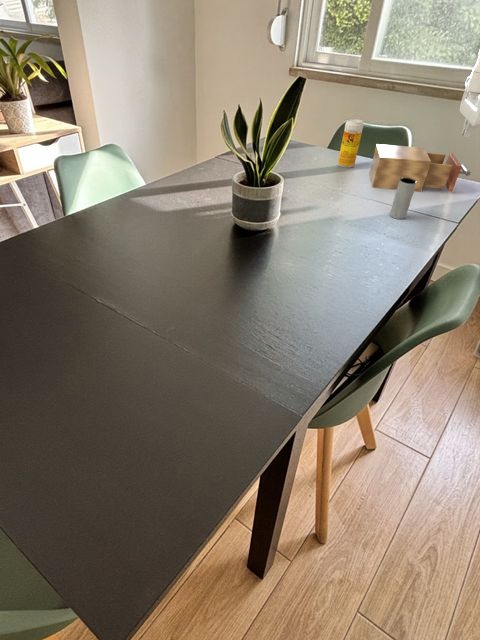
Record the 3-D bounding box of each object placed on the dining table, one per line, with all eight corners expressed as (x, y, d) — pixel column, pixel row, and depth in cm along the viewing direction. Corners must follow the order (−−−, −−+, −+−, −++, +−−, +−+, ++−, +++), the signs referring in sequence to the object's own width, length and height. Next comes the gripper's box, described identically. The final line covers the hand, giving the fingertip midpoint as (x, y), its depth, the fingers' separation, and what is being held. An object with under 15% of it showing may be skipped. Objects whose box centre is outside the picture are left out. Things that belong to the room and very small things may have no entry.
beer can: (337, 167, 156) (346, 122, 146) (337, 162, 161) (346, 118, 151) (354, 169, 155) (364, 123, 145) (354, 163, 160) (364, 119, 150)
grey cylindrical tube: (391, 211, 127) (401, 176, 121) (407, 215, 126) (418, 179, 119) (387, 217, 124) (398, 181, 118) (403, 220, 123) (415, 184, 116)
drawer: (457, 178, 147) (466, 154, 142) (466, 192, 138) (476, 167, 132) (401, 173, 150) (408, 149, 145) (405, 187, 140) (413, 162, 135)
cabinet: (414, 176, 150) (424, 147, 144) (421, 191, 140) (431, 161, 133) (369, 172, 153) (376, 144, 146) (372, 187, 142) (379, 157, 136)
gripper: (507, 91, 113) (484, 147, 122) (487, 78, 128) (468, 128, 137) (482, 90, 114) (461, 145, 123) (465, 77, 129) (448, 127, 138)
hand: (465, 136), depth 130 cm, fingers closed
